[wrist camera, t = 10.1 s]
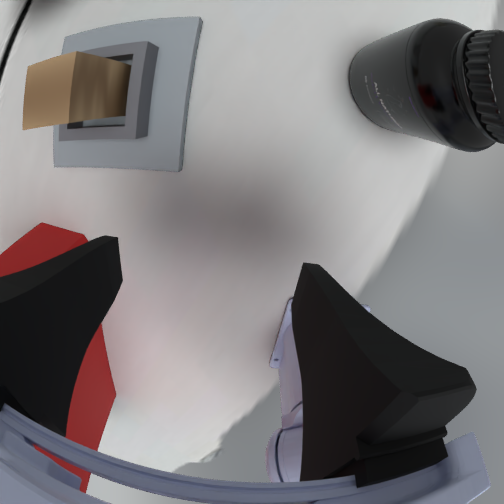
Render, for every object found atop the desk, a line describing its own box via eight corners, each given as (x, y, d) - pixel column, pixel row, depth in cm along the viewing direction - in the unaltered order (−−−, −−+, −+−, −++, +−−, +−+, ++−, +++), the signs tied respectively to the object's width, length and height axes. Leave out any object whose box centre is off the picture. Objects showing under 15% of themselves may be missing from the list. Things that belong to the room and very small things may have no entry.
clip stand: (181, 169, 18) (169, 179, 15) (60, 164, 17) (38, 173, 15) (202, 21, 13) (193, 6, 10) (71, 38, 12) (49, 33, 9)
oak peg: (131, 115, 15) (68, 123, 9) (89, 117, 15) (22, 130, 9) (136, 66, 13) (76, 51, 7) (94, 72, 13) (27, 66, 7)
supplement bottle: (334, 107, 16) (448, 110, 5) (359, 28, 12) (466, -32, 2) (413, 146, 16) (537, 201, 6) (435, 73, 13) (558, 78, 3)
